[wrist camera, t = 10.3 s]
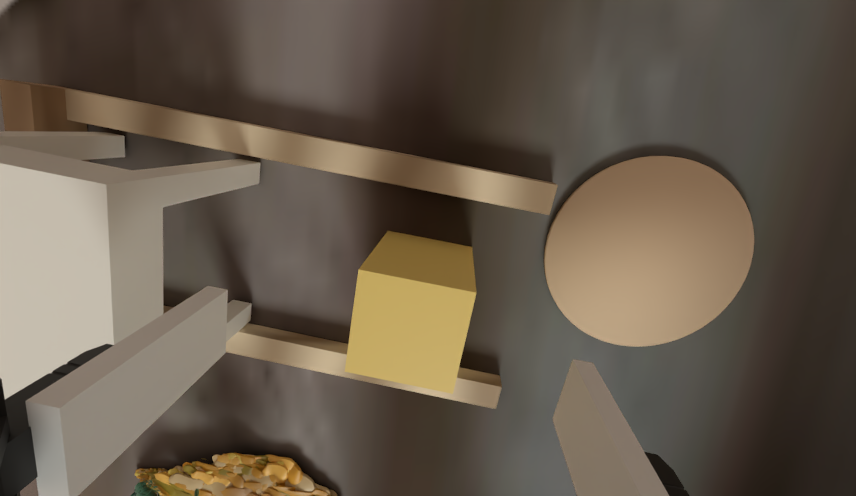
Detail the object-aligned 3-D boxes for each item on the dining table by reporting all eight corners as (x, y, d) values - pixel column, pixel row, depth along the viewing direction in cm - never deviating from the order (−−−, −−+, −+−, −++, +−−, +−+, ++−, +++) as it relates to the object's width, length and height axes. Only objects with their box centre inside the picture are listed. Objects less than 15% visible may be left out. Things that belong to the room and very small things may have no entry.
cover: (260, 162, 23) (106, 184, 13) (250, 320, 25) (118, 437, 16) (104, 131, 23) (-165, 130, 13) (111, 291, 26) (-105, 388, 16)
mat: (783, 177, 21) (789, 178, 20) (704, 359, 24) (708, 363, 24) (574, 137, 21) (576, 137, 21) (523, 322, 24) (523, 325, 24)
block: (472, 246, 23) (476, 292, 17) (455, 323, 25) (453, 393, 18) (388, 230, 23) (358, 269, 17) (376, 307, 25) (344, 371, 18)
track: (552, 182, 22) (566, 189, 19) (494, 396, 26) (498, 429, 23) (58, 85, 23) (-1, 79, 20) (75, 308, 27) (28, 329, 24)
